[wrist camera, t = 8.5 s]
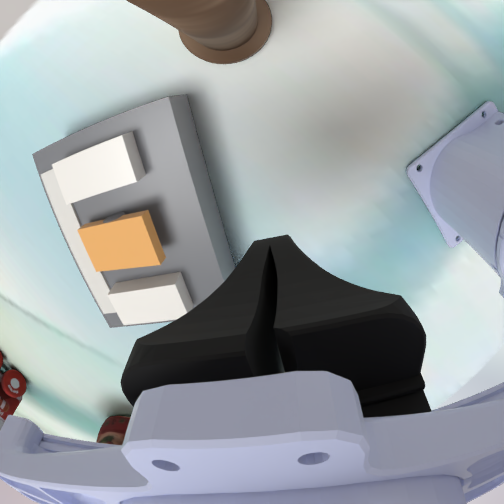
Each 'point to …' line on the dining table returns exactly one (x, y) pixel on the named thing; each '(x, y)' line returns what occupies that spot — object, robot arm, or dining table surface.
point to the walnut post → (215, 26)
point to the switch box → (141, 208)
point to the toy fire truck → (10, 392)
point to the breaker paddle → (122, 242)
